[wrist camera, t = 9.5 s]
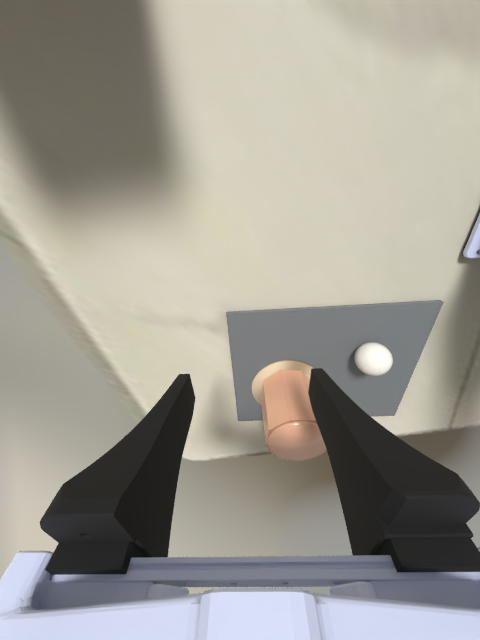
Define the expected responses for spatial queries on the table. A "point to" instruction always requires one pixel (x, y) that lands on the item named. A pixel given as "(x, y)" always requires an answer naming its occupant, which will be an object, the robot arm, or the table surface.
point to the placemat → (331, 348)
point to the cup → (290, 417)
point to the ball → (373, 359)
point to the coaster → (273, 369)
